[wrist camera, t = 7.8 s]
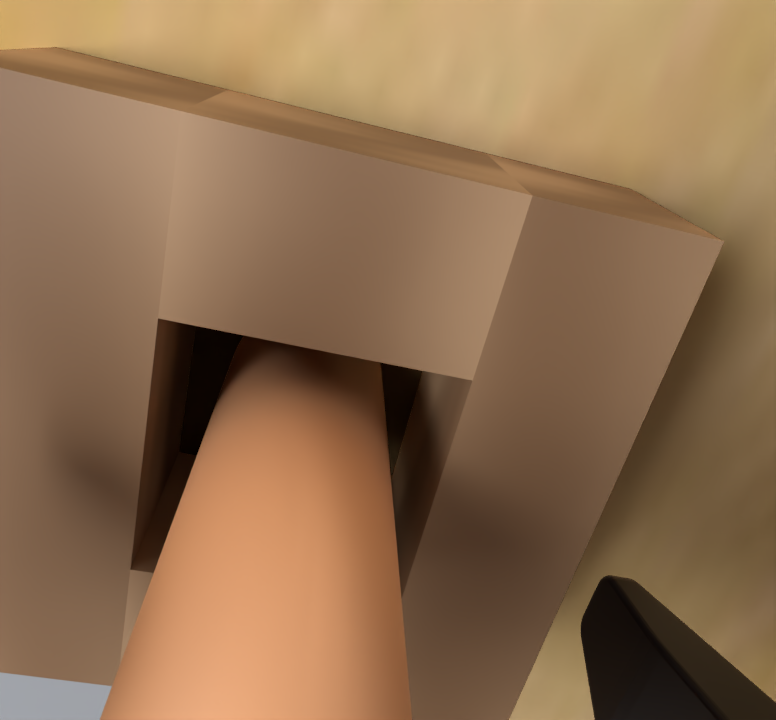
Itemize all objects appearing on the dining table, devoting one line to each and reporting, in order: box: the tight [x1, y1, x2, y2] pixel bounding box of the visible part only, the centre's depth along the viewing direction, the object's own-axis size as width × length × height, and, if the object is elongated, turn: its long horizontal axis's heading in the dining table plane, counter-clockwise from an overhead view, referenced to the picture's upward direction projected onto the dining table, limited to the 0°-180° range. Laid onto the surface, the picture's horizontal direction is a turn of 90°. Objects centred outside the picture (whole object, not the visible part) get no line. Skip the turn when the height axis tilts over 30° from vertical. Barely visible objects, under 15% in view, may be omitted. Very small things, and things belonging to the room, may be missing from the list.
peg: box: [100, 336, 412, 720], centre depth 9 cm, size 3×3×10 cm
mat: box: [0, 673, 112, 720], centre depth 17 cm, size 12×9×1 cm
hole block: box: [0, 47, 724, 720], centre depth 12 cm, size 10×10×4 cm
